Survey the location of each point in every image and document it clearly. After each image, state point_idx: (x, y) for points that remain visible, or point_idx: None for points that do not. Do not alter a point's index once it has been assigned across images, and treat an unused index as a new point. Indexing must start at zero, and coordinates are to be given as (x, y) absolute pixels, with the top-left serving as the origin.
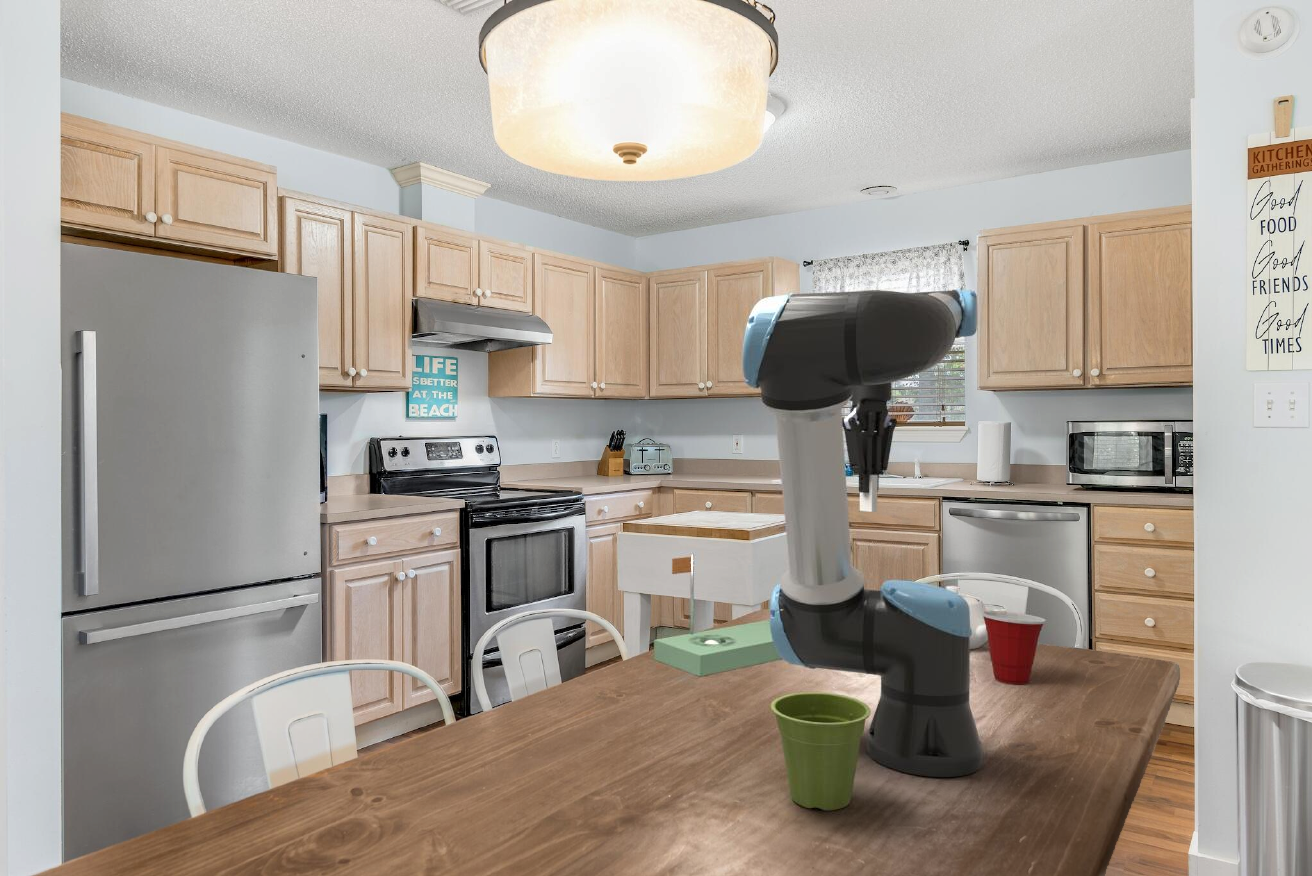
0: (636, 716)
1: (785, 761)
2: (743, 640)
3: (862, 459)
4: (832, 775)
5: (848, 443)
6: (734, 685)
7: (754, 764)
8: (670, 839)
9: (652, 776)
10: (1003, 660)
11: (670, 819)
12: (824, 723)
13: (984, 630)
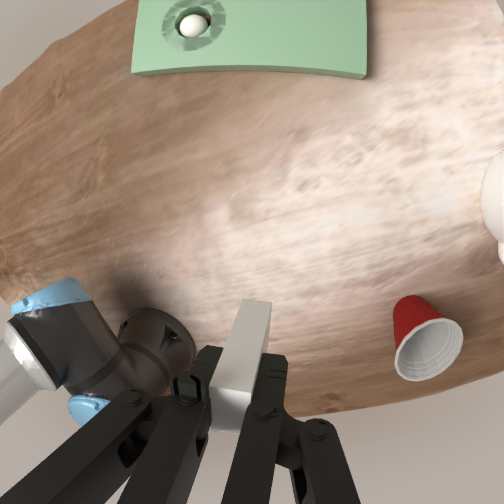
0: (45, 150)
1: None
2: (227, 39)
3: (127, 464)
4: None
5: (40, 477)
6: (150, 122)
7: (64, 273)
8: (14, 296)
9: (21, 245)
10: (394, 325)
11: (17, 285)
12: None
13: (500, 255)
